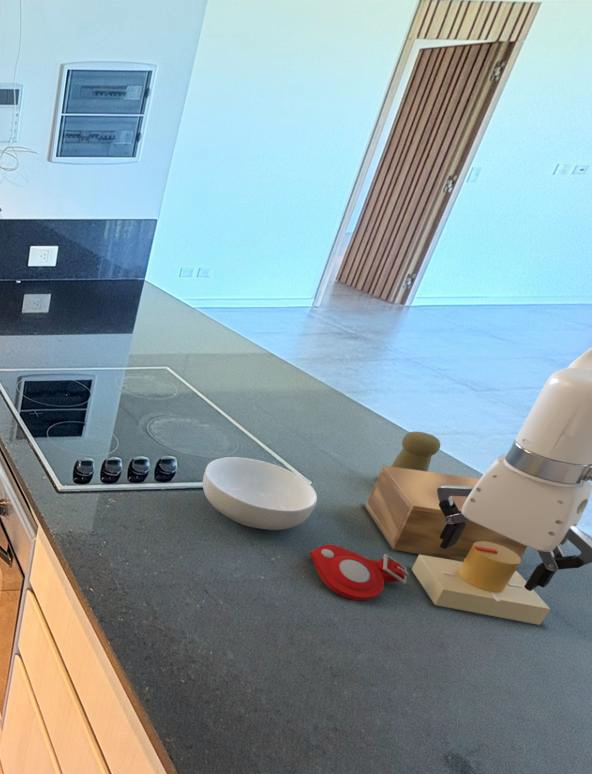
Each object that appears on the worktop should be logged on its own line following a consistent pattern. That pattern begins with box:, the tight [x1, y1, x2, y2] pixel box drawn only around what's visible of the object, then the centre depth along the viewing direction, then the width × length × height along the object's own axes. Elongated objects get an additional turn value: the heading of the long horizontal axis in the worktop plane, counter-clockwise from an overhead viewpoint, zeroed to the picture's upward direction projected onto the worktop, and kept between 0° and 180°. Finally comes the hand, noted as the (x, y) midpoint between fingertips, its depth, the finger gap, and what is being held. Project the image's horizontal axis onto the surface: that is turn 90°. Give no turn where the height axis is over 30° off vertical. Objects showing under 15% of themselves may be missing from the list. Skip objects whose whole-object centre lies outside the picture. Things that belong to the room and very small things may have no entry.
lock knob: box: [459, 541, 522, 592], centre depth 87 cm, size 5×5×5 cm
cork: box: [391, 431, 441, 472], centre depth 113 cm, size 6×6×11 cm
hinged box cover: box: [381, 465, 480, 515], centre depth 97 cm, size 16×13×6 cm
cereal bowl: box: [202, 456, 318, 531], centre depth 106 cm, size 17×17×7 cm
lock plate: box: [411, 554, 551, 626], centre depth 89 cm, size 12×9×3 cm
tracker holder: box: [308, 544, 410, 601], centre depth 93 cm, size 12×4×10 cm
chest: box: [364, 469, 528, 562], centre depth 101 cm, size 16×13×8 cm
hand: (487, 565), depth 87 cm, fingers open, 9 cm apart
